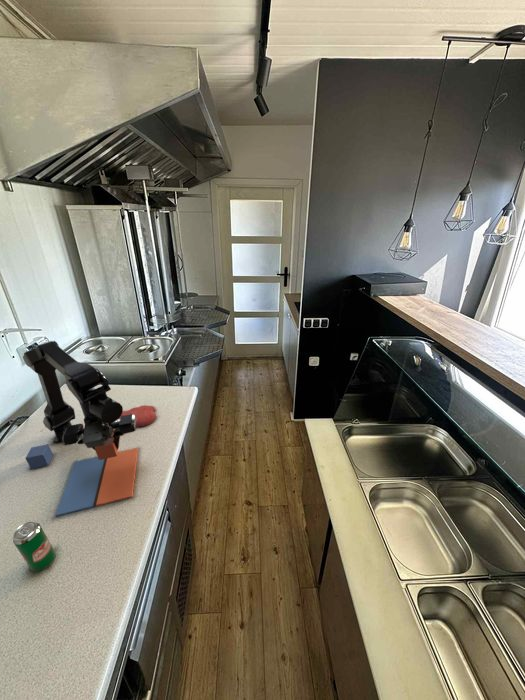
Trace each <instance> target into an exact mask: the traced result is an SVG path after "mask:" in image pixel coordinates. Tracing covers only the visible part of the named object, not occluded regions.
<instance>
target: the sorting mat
mask: <svg viewBox="0 0 525 700" xmlns="http://www.w3.org/2000/svg"><path fill="white" fill-rule="evenodd" d="M138 452H139V448H138V447H136V448H131V449H127V450H122V451H118V453H117V456H116V457H111V458H107V459H102V460H99V459H98V456H94V457H89V458H86V459H80V460H76V461H74V462H73V466H72V468H71V470H70V474H69V476H68V479H67V482H66V483H65V488H64V490H63V492H62V495H61V498H60V501H59V503H58V506H57V508H56V512H55V514H54V516H55V517H61V516H65V515H68V514H72V513H76V512H81V511H84V510H88V509H92V508H96V507H100V506H104V505H107V504H111V503H115V502H119V501H124V500H127V499H131V498H133V495H134V487H135V480H136V479H135V477H136V469H137V461H138Z"/></svg>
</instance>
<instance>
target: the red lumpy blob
mask: <svg viewBox="0 0 525 700" xmlns="http://www.w3.org/2000/svg"><path fill="white" fill-rule="evenodd" d="M155 411H156V407H155V406H153V405H140V406H137V407H133V408H130V409H128V410H123V412H122V415H121V416H123V415H129V414H134V415H135V416H136V419H137V420H136V427H135V428H142V427H146V426H149V425H151V424H152V423H154V421H155V420H156V418H157V417H156V416H157V415H156V413H155ZM121 416H120V418H121ZM120 418H119V419H120ZM113 433H114V430H113Z"/></svg>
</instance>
